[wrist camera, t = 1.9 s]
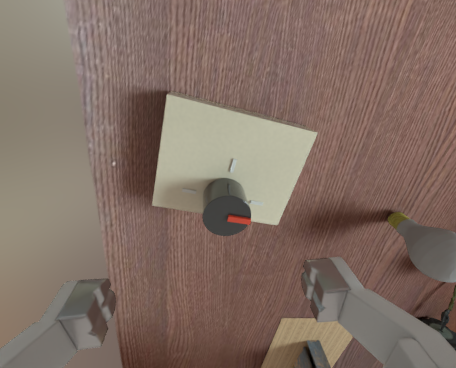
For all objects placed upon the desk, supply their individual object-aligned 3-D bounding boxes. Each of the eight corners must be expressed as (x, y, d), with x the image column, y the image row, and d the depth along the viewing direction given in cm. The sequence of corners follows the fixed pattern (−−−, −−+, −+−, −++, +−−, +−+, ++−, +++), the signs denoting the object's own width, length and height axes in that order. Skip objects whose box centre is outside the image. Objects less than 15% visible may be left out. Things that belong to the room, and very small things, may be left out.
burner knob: (198, 211, 24) (198, 234, 21) (207, 174, 22) (208, 193, 19) (238, 217, 25) (244, 241, 22) (250, 182, 23) (258, 202, 20)
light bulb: (375, 202, 30) (449, 260, 21) (416, 195, 30) (506, 249, 21) (369, 234, 32) (432, 298, 23) (406, 227, 32) (482, 288, 24)
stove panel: (155, 204, 27) (149, 221, 24) (171, 90, 21) (166, 94, 18) (266, 222, 29) (272, 238, 27) (305, 125, 24) (318, 133, 21)
